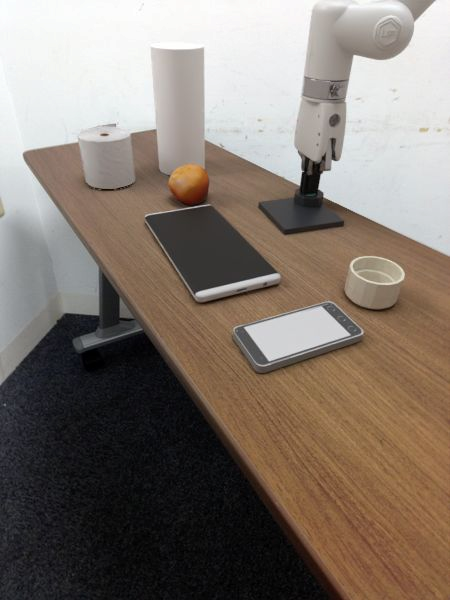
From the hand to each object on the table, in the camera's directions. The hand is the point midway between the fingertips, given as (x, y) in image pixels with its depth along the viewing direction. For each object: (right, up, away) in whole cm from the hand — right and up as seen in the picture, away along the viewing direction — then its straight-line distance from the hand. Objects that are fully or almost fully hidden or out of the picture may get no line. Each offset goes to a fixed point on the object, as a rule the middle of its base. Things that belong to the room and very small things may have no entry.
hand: (308, 192), depth 83 cm
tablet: (-19, -13, -13) cm, 27 cm away
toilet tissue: (-41, +5, +11) cm, 43 cm away
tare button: (0, -1, +1) cm, 2 cm away
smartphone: (-7, -26, -29) cm, 40 cm away
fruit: (-23, -1, +3) cm, 24 cm away
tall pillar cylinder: (-26, +10, +18) cm, 33 cm away
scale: (-2, -5, -2) cm, 6 cm away
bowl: (+4, -20, -22) cm, 30 cm away
